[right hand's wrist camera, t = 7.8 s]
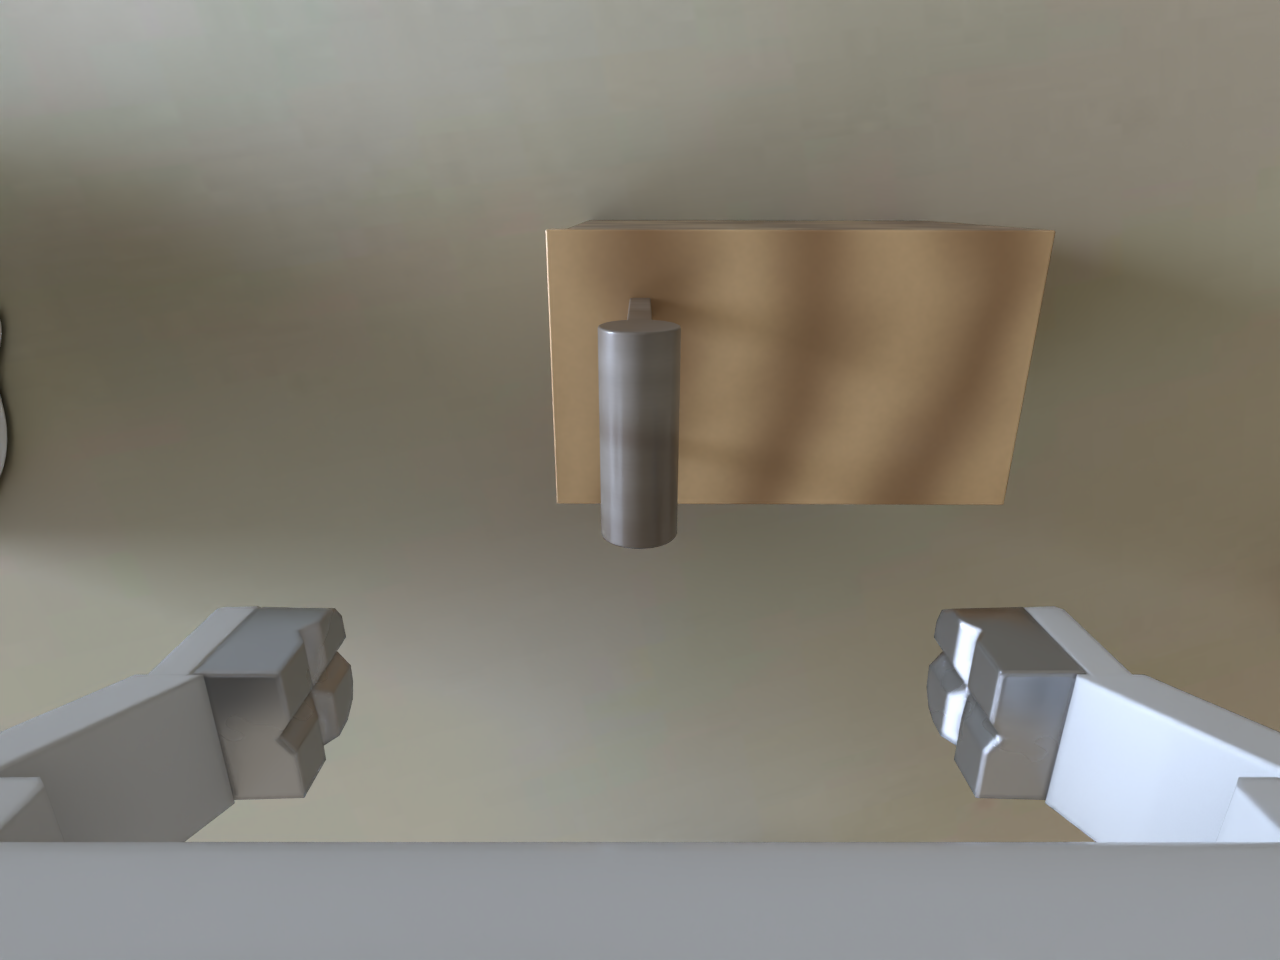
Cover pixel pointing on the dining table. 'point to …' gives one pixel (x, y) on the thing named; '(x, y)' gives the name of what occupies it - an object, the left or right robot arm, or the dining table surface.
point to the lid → (787, 367)
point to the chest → (776, 225)
